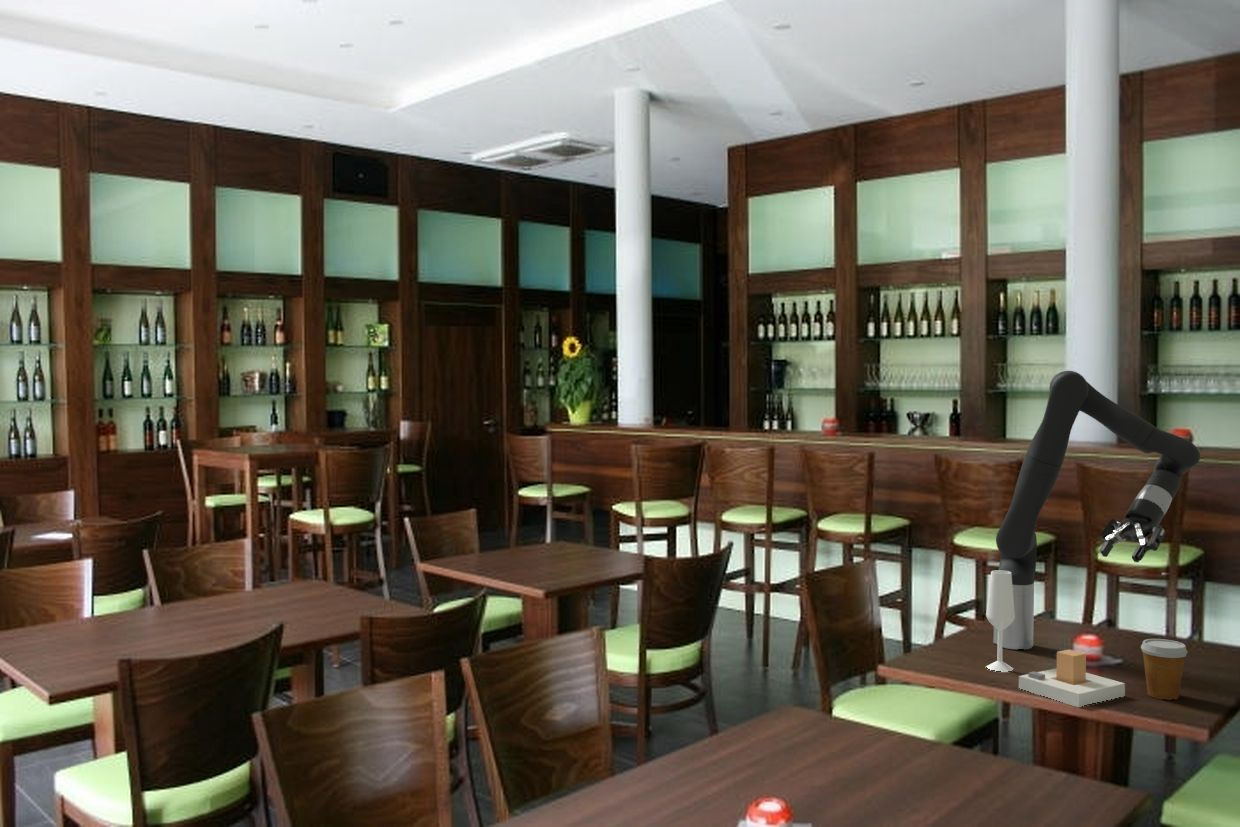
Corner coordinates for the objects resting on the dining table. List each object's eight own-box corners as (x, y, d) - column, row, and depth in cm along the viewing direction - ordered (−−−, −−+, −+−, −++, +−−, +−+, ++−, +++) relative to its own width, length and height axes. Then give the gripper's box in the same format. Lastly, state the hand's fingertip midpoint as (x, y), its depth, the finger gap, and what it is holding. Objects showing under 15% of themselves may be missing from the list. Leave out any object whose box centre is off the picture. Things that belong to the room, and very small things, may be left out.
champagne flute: (1016, 672, 264) (1018, 575, 263) (987, 671, 265) (989, 574, 264) (1011, 665, 271) (1012, 570, 270) (983, 664, 272) (984, 569, 271)
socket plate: (1018, 688, 251) (1018, 671, 251) (1064, 678, 259) (1064, 662, 259) (1078, 707, 237) (1078, 689, 237) (1124, 696, 245) (1125, 679, 245)
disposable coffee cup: (1190, 704, 239) (1191, 650, 239) (1142, 699, 243) (1143, 646, 242) (1182, 691, 248) (1184, 640, 248) (1137, 688, 252) (1138, 636, 251)
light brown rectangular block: (1056, 690, 249) (1056, 651, 248) (1068, 687, 251) (1069, 649, 251) (1072, 695, 245) (1073, 656, 245) (1085, 692, 247) (1086, 653, 247)
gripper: (1116, 494, 273) (1086, 543, 267) (1169, 500, 260) (1138, 551, 255) (1129, 514, 275) (1099, 562, 270) (1182, 521, 263) (1152, 572, 258)
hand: (1118, 557), depth 263 cm, fingers open, 8 cm apart
